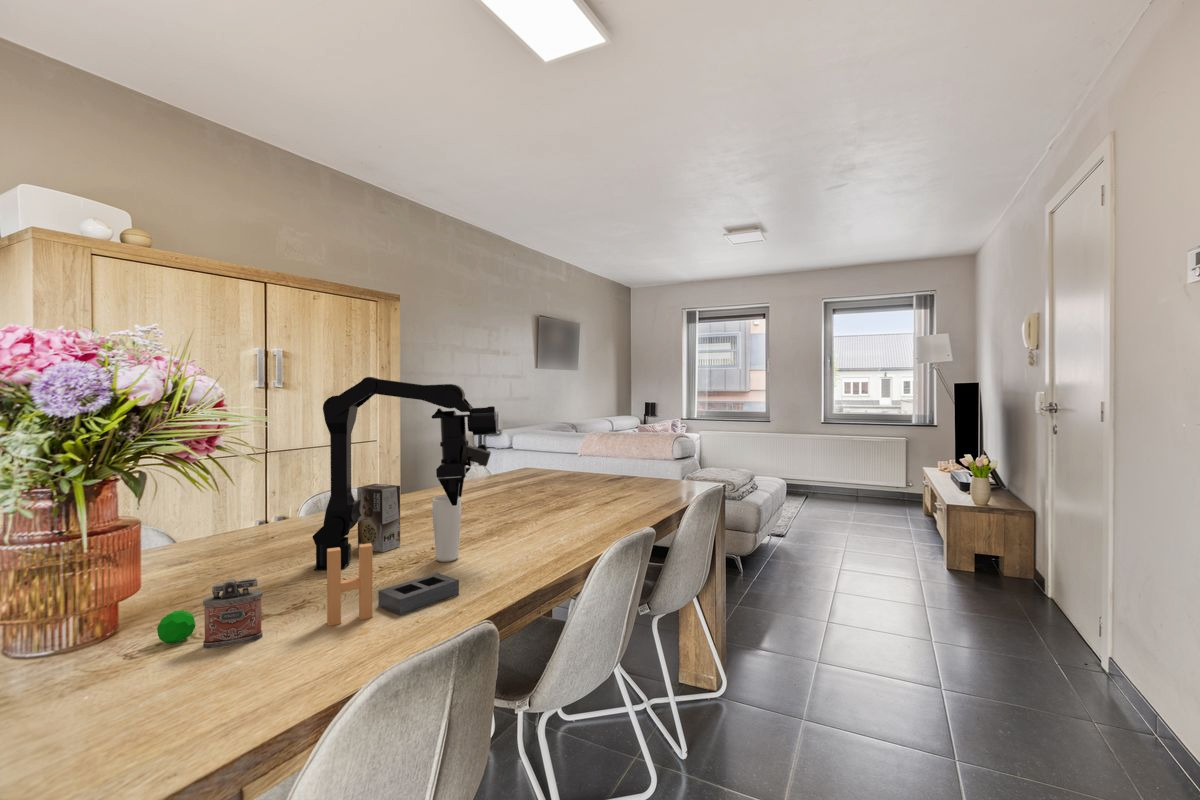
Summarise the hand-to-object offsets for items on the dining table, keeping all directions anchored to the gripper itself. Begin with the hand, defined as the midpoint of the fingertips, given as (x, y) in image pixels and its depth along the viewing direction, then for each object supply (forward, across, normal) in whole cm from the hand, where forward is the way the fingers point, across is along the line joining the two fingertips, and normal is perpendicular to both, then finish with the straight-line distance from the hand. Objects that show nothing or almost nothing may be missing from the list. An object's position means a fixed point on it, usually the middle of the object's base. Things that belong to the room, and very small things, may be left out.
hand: (456, 501), depth 132 cm
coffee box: (+14, +14, +22) cm, 30 cm away
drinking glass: (+14, +2, +3) cm, 15 cm away
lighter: (+13, -38, +32) cm, 52 cm away
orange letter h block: (+14, -32, +16) cm, 38 cm away
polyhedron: (+13, -37, +41) cm, 57 cm away
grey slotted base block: (+14, -24, +5) cm, 29 cm away
